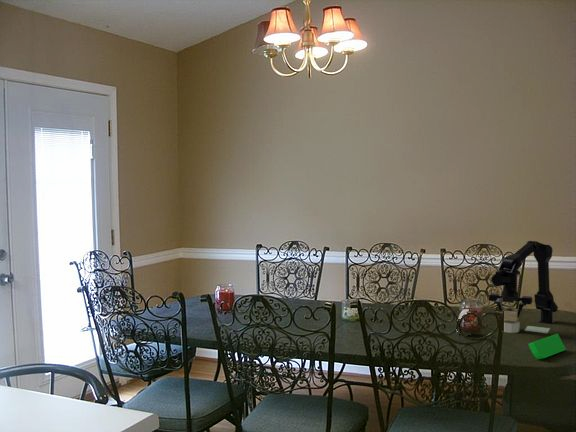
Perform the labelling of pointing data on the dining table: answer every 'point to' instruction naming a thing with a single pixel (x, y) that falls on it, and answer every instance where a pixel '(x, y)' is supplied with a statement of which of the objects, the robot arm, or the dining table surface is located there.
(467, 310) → the figurine
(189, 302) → the dining table surface
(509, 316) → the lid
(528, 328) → the mat
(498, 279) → the robot arm
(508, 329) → the bowl
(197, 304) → the dining table surface
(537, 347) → the green rectangular block
